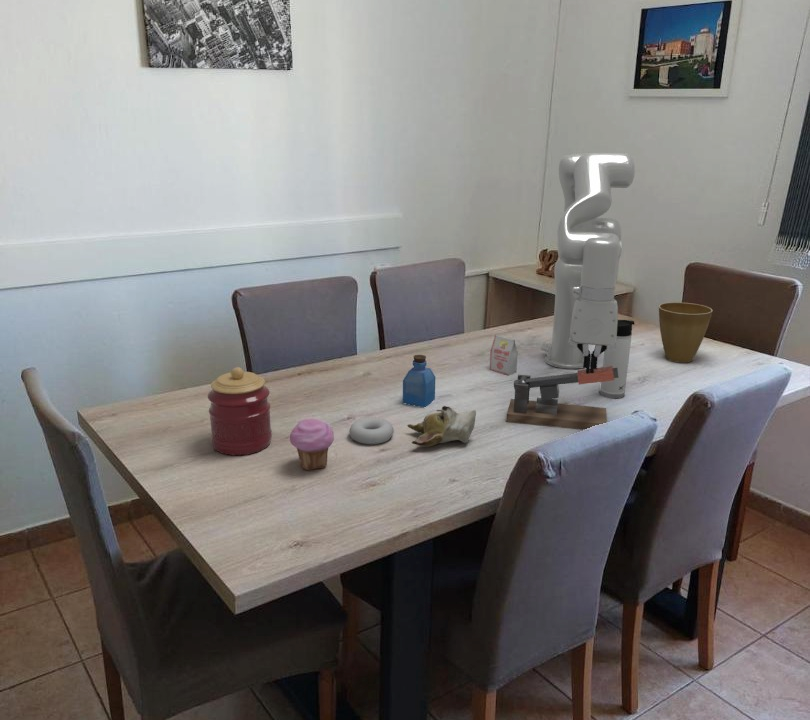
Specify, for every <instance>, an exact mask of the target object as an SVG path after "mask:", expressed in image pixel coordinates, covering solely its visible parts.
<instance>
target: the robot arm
mask: <svg viewBox="0 0 810 720" xmlns="http://www.w3.org/2000/svg"><path fill="white" fill-rule="evenodd" d="M635 173H636V168H635V162H634V160H633V157H632V155H630V154H629V153H625V152H600V151H599V152H596V151H595V152H588V153H572V154H566V155H564V156H562V158H561V159H560V161H559V164H558V178H559V183H560V187H561V190H562V194H563V199H564V209H563V213H562V215H561V217H560V219H559V221H558V225H557V226H558V227H557V255H558V259H557V261H556V262H555V264H554V269H553V273H554V288H555V289H554V293H555V294H554V310H553V311H554V313H553V325H552V335H551V336H552V337H551V343H549V342H546V341H545V342H542V344H541V345H542V346H541V347H540V350H541V351H545V352H547V354H546V355H545V357H544V361H545V363H546V364H548V365H550V366H553V367H556V368H560V369H567V370H568V369H569V370H570V369H571V370H572V369H573V370H575V369H582V368H583V369H586V373H588V372H589V369H590V372H591V373H593V370H594V369H597V368H598V360H599V357H600V355H601V354H604V351H605V350H609V349H615V348H616V337H617V324H618V320H619V319H618V318H619V306H618V301H617V300H616V299H615V294H616V293H615V291H616V284H617V282H618V276H619V275H618V274H619V267H620V266H619V265H620V258H621V255H622V249H623V248H622V247H623V243H622V227H621V223H620V222H619V221H618V220H617V219H616V218H612V217H602V216H603V215H604V214H605V213H607V212H608V211H609V210H610V208H611V207H612V203H613V201H612V200H613V199H612V198H613V197H612V191H611V190H612V188H613V189H627V188H629V187H630V186H631V185H632V183H633V182H634V179H635ZM589 345H592V346H594V349H593V351H592V353H591V351H590V350H589V348H590V347H589Z"/></svg>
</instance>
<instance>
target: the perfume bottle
mask: <svg viewBox="0 0 810 720" xmlns="http://www.w3.org/2000/svg"><path fill="white" fill-rule="evenodd" d="M426 359H427V356H426V355H424V354H416V355H413V360H412V366H413V367H412V368H411V369H409V370H408V371H407V373H406V374H405V377H404V378H403V379H402V404H403V403H406V404H405V405H408V404H410V405H409V406H413V405H415V407H418V406H420V408H424V407H426V406H427V407H428V406H430V404H432V403H433V402H434V401H435V400H436V375H435V373H434V372H433V371H432V369H431V368H430V367H426V366H427V360H426ZM433 400H434V401H433ZM432 401H433V402H432ZM427 407H426V408H427Z"/></svg>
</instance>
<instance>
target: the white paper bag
mask: <svg viewBox="0 0 810 720" xmlns="http://www.w3.org/2000/svg"><path fill="white" fill-rule="evenodd" d="M518 352H519V351H518V350H517V346H516V340H515V339H512V338H508V337H504V336H500V335H496V334H495V335H494V338H493V342H492V344H491V347H490V354H489V355H490V357H489V371H492V372H496V373H499V374H502V375H504V376H511V375H514V374H516V373H517V370H518V369H517V367H518V356H519V355H518V354H519V353H518Z"/></svg>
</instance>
